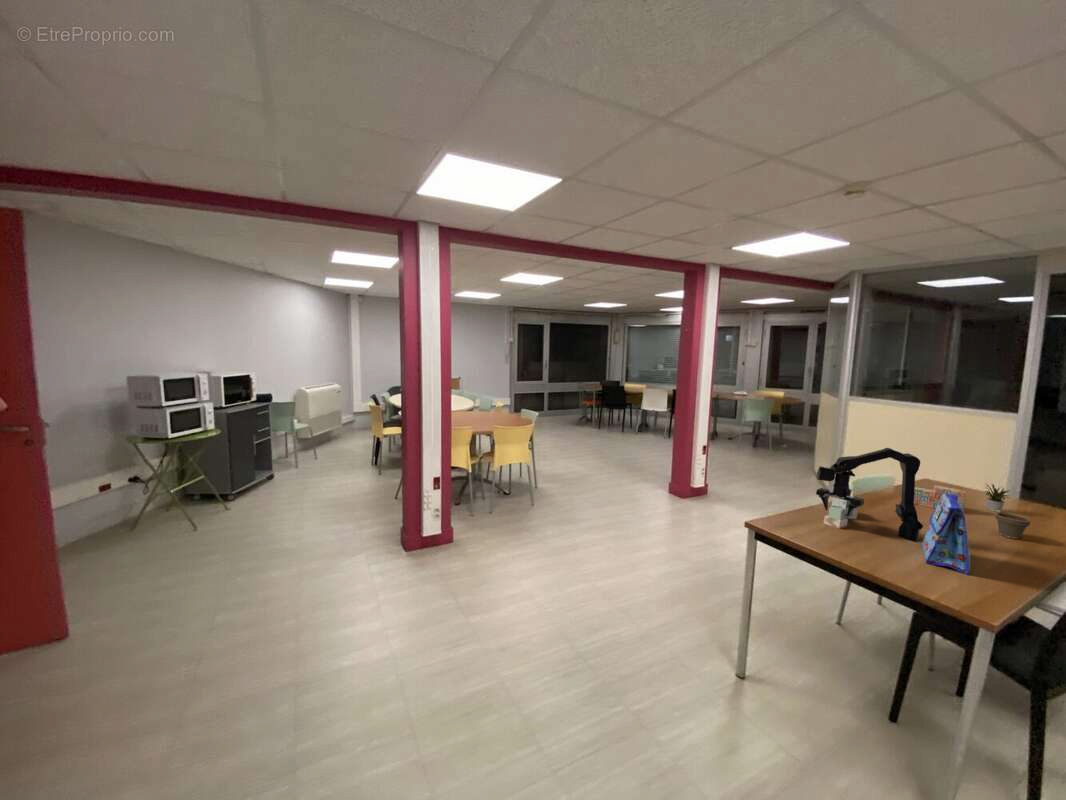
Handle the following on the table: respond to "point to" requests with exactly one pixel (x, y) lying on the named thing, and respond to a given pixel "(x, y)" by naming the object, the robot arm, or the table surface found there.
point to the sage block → (836, 512)
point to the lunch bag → (947, 536)
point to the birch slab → (835, 522)
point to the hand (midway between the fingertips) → (837, 513)
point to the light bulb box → (845, 506)
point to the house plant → (996, 498)
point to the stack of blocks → (936, 496)
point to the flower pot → (1011, 524)
